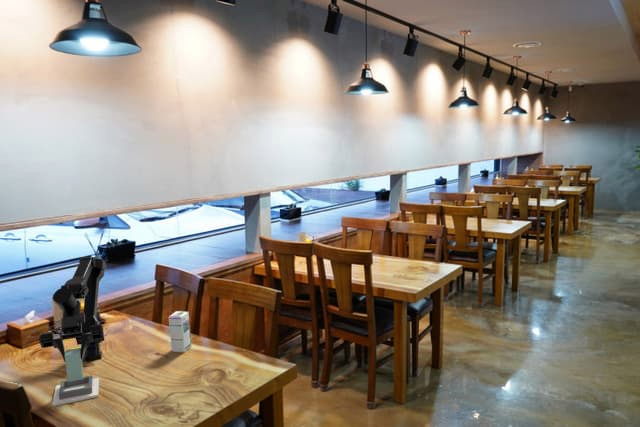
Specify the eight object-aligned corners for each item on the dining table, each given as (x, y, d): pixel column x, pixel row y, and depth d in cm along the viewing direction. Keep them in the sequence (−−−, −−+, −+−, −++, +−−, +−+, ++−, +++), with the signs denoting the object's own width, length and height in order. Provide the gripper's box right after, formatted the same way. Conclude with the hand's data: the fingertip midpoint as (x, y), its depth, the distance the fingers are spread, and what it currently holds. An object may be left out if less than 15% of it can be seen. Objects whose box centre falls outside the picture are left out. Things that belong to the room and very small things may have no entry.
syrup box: (185, 352, 191) (182, 316, 189) (170, 351, 192) (168, 315, 190) (191, 346, 196) (189, 311, 194) (178, 345, 198) (175, 310, 196)
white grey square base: (56, 387, 165) (55, 379, 165) (98, 379, 170) (98, 371, 170) (52, 406, 154) (51, 397, 153) (98, 396, 159) (97, 388, 158)
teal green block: (68, 376, 163) (65, 350, 161) (83, 373, 164) (80, 347, 163) (67, 382, 159) (64, 355, 157) (82, 379, 160) (79, 352, 159)
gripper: (36, 309, 158) (35, 355, 150) (100, 300, 165) (103, 344, 157) (42, 325, 166) (41, 369, 158) (102, 316, 174) (105, 358, 165)
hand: (73, 360), depth 159 cm, fingers closed on teal green block, 4 cm apart
